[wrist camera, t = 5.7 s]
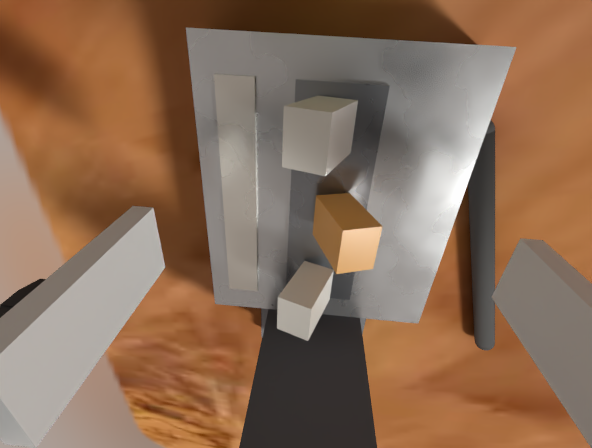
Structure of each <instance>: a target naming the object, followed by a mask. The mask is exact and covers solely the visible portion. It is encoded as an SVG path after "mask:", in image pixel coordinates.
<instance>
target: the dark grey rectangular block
mask: <svg viewBox="0 0 592 448" xmlns="http://www.w3.org/2000/svg"><path fill="white" fill-rule="evenodd" d="M261 314H262V342H261V347H260V352H259V356H258V361H257V366H256V371H255V375H254V380H253V385H252V390H251V394H250V399H249V404H248V409H247V413H246V418H245V423H244V428H243V432H242V437H241V442H240V447H239V448H377V444H376V436H375V429H374V421H373V413H372V406H371V398H370V391H369V383H368V375H367V368H366V360H365V352H364V345H363V337H362V333H363V329H364V325H365V320H366V318H357V317H346V316H336V315H326V314H322V315H321V317H320V319H319V321H318V323H317V325H316V327H315V329H314V331H313V332H312V334H311V336H310V338H309V340H308V341H307V340H304V339H302V338H299V337H297V336H294V335H292V334H289V333H287V332H284V331H282V330H280V329H277V310H274V309H264V308H261Z"/></svg>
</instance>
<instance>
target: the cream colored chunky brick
mask: <svg viewBox="0 0 592 448" xmlns="http://www.w3.org/2000/svg"><path fill="white" fill-rule="evenodd" d="M357 105H358V100H352V99H343V98H335V97H327V96H315V97H311V98H308V99H305V100H302V101H298V102H295V103H292V104H289V105H285V106H284V114H283V147H282V167H284V168H288V169H293V170H298V171H302V172H307V173H312V174H317V175H321V176H326V175H328V174H329V173H330V172H331V171H332V170H333V169H334V168H335V167H336V166H337V165H338V164H339V163H340V162H341V161H342V160H344V159H345V158H346V157H347V156H348V155H349V154H350V153H351V147H352V140H353V133H354V126H355V119H356V112H357Z"/></svg>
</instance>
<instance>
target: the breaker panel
mask: <svg viewBox="0 0 592 448" xmlns="http://www.w3.org/2000/svg"><path fill="white" fill-rule="evenodd" d="M186 34H187V44H188V53H189V63H190V72H191V81H192V91H193V100H194V110H195V119H196V128H197V138H198V147H199V157H200V166H201V175H202V185H203V194H204V204H205V213H206V222H207V232H208V241H209V250H210V260H211V269H212V279H213V288H214V297H215V304H222V305H233V306H243V307H253V308H264V309H274V310H277V308H278V296H279V295H280V293H281V292H282V291H283V289H284V288H285V287H286V285H287V284H288V282H289V281H290V280H291V278H292V277H293V276H294V274H295V273H296V272H297V270H298V269H299V268H300V266H301V265H302V263H303V262H304V261H307V262H310V263H313V264H317V265H320V266H323V267H326V268H329V269H332V270H334V269H333V268H332V266H331V264H330V263H329V261H328V259H327V258H326V256H325V254H324V253H323V251H322V249H321V248H320V246H319V244H318V242H317V241H316V239H315V237H314V236H313V223H314V212H315V202H316V195H328V194H343V193H350V194H351V195H352V196H353V197H354V198H355V199H356V200H357V201H358V202H359V203H360V204H361V205H362V206H363V207H364V208H365V209H366V210H367V211H368V212H369V213H370V214H371V215H372V216H373V217H374V218H375V219H376V220H377V221H378V222H379V223H380V224H381V225H382V226H383V227H382V232H381V236H380V240H379V245H378V249H377V254H376V258H375V263H374V267H373V269H369V270H362V271H355V272H348V273H341V274H336V273H335V271H334V272H333V279H332V286H331V293H330V300H329V302H328V304H327V305H326V307H325V309H324V311H323V313H322V314H326V315H336V316H346V317H357V318H367V319H378V320H388V321H398V322H409V323H419V320H420V317H421V314H422V311H423V309H424V306H425V303H426V300H427V297H428V294H429V292H430V289H431V286H432V283H433V280H434V278H435V275H436V272H437V269H438V266H439V264H440V261H441V258H442V255H443V252H444V249H445V247H446V244H447V241H448V238H449V235H450V233H451V230H452V227H453V224H454V221H455V218H456V216H457V213H458V210H459V207H460V204H461V202H462V199H463V196H464V193H465V190H466V187H467V185H468V182H469V179H470V176H471V173H472V171H473V168H474V165H475V162H476V159H477V157H478V154H479V151H480V148H481V145H482V142H483V140H484V137H485V134H486V131H487V128H488V126H489V123H490V120H491V117H492V114H493V111H494V109H495V106H496V103H497V100H498V97H499V95H500V92H501V89H502V86H503V83H504V80H505V78H506V75H507V72H508V69H509V66H510V64H511V61H512V58H513V55H514V52H515V50H516V47H505V46H488V45H472V44H455V43H438V42H421V41H404V40H387V39H371V38H354V37H337V36H320V35H303V34H287V33H270V32H253V31H236V30H219V29H202V28H186ZM315 96H327V97H335V98H343V99H352V100H358V105H357V112H356V119H355V126H354V133H353V140H352V147H351V153H350V154H349V155H348V156H347V157H346V158H345V159H344V160H342V161H341V162H340V163H339V164H338V165H337V166H336V167H335V168H334V169H333V170H332V171H331V172H330V173H329V174H328V175H326V176H321V175H317V174H312V173H307V172H302V171H298V170H293V169H288V168H284V167H282V147H283V114H284V106H285V105H289V104H292V103H295V102H298V101H302V100H305V99H308V98H311V97H315Z"/></svg>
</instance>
